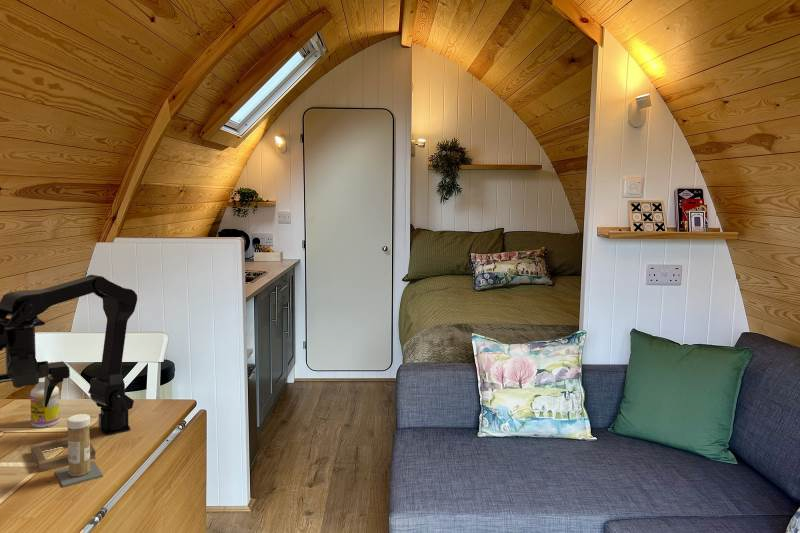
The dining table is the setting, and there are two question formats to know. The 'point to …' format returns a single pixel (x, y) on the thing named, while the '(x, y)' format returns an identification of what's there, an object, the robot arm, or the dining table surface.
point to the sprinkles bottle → (78, 445)
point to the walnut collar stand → (57, 461)
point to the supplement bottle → (40, 413)
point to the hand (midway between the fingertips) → (22, 410)
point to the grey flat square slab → (71, 480)
